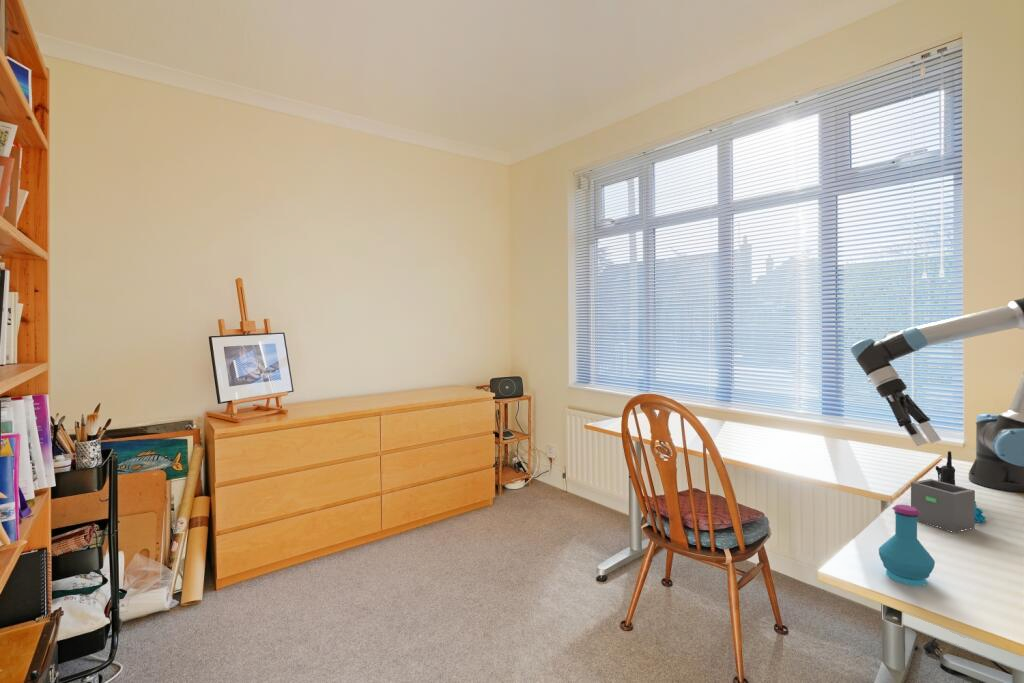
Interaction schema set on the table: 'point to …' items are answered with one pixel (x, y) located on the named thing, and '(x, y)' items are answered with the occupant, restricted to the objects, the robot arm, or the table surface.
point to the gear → (978, 515)
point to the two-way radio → (947, 471)
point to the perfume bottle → (906, 550)
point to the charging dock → (944, 504)
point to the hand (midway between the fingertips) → (929, 443)
